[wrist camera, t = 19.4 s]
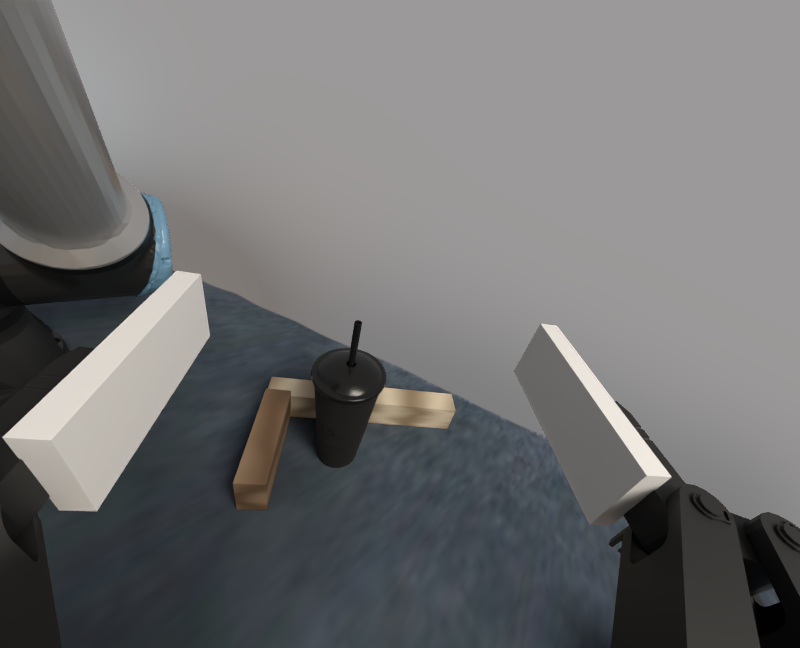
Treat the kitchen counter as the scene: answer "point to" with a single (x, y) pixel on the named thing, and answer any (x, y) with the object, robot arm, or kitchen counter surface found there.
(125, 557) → the kitchen counter surface
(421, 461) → the kitchen counter surface
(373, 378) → the drinking cup
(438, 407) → the wooden l-shaped block
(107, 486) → the robot arm
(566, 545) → the kitchen counter surface
